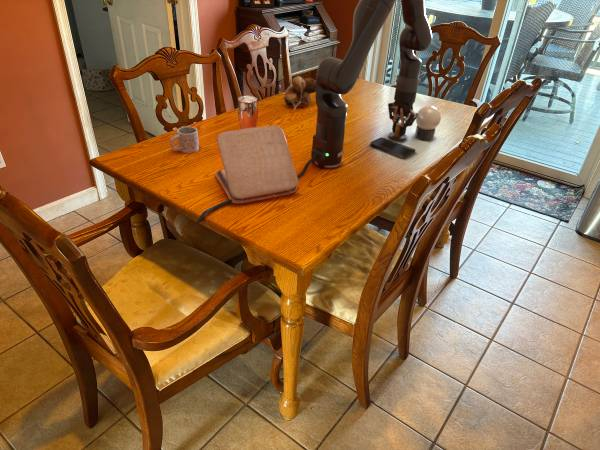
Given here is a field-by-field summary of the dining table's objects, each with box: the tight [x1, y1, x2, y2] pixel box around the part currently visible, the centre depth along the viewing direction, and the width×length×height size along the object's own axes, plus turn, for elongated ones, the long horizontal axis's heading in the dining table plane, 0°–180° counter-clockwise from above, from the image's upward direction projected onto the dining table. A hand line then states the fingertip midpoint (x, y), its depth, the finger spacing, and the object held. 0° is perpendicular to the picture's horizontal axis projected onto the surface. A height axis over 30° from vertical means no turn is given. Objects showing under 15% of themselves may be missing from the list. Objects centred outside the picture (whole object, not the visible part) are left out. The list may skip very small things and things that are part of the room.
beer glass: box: [237, 95, 259, 130], centre depth 157 cm, size 7×7×15 cm
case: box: [215, 125, 299, 205], centre depth 130 cm, size 20×21×16 cm
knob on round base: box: [388, 122, 408, 143], centre depth 168 cm, size 7×7×6 cm
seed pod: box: [283, 75, 316, 111], centre depth 191 cm, size 13×16×15 cm
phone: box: [369, 137, 416, 160], centre depth 160 cm, size 8×1×15 cm
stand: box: [414, 124, 437, 142], centre depth 170 cm, size 7×7×4 cm
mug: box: [169, 126, 200, 154], centre depth 150 cm, size 10×7×7 cm
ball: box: [415, 105, 442, 130], centre depth 167 cm, size 9×9×9 cm
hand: (398, 133), depth 168 cm, fingers open, 3 cm apart
